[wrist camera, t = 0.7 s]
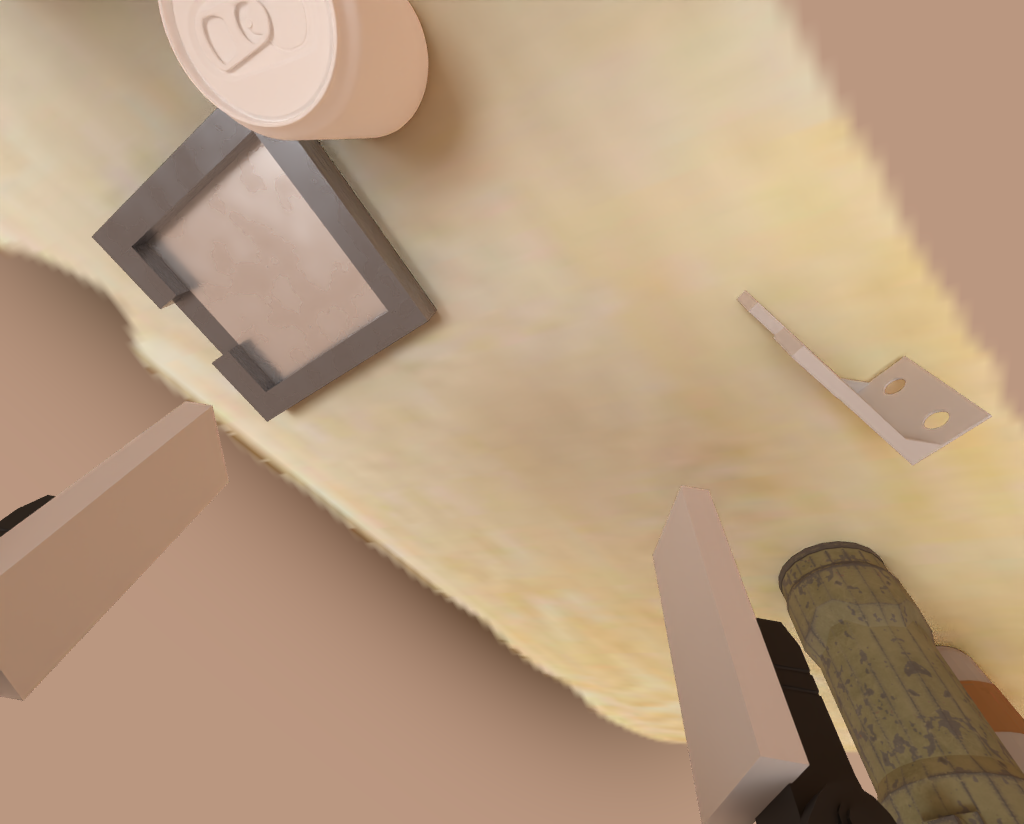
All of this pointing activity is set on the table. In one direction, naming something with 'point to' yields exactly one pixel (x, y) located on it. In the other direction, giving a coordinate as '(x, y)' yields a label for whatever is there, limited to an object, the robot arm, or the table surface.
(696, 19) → the table surface
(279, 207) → the chassis pocket
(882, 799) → the thermos
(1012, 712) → the coffee cup
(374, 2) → the beverage can
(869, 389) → the bracket
